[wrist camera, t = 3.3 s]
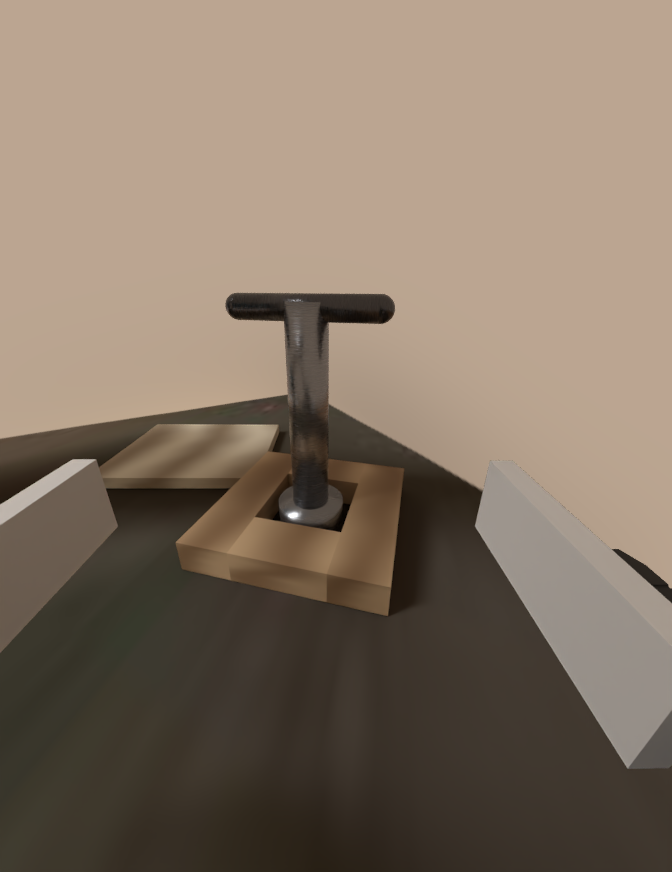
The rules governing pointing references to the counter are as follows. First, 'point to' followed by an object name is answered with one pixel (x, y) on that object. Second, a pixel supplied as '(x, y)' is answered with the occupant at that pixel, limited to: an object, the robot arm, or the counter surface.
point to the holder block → (303, 536)
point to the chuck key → (310, 388)
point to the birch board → (189, 456)
